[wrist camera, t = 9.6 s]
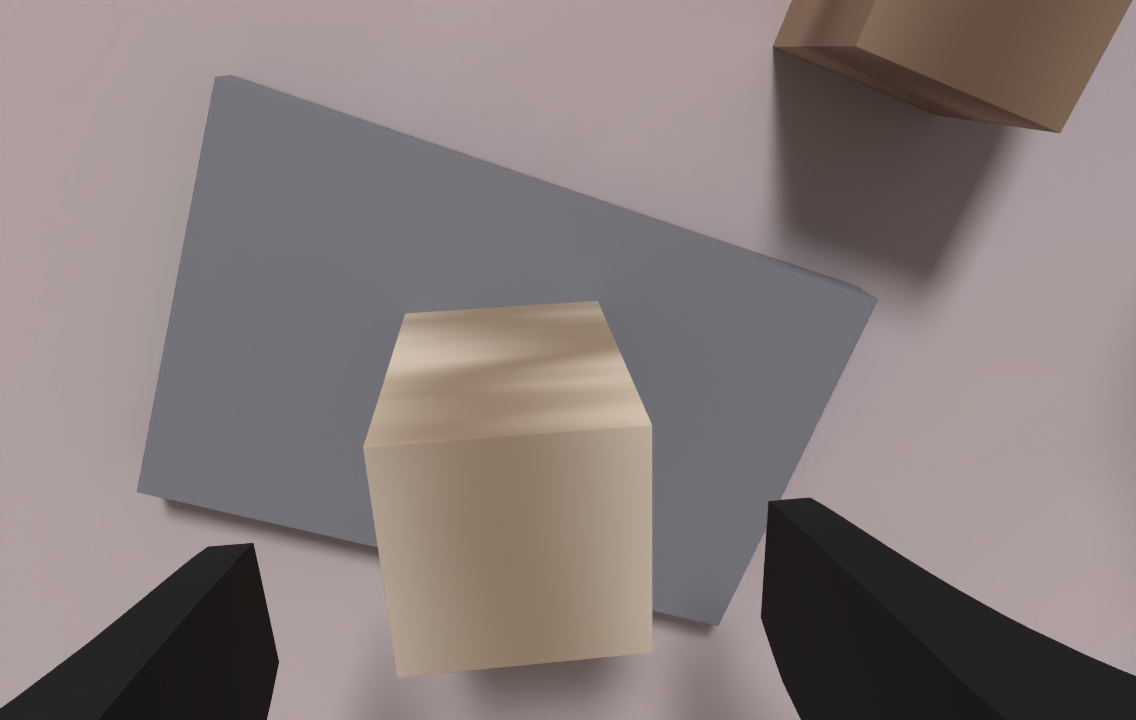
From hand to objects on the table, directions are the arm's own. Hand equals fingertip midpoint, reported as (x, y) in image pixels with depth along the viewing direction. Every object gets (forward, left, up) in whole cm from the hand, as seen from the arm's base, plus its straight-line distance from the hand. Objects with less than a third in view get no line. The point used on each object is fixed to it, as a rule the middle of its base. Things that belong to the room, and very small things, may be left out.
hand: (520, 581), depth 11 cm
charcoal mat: (0, 0, -8) cm, 8 cm away
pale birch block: (0, 0, -7) cm, 7 cm away
